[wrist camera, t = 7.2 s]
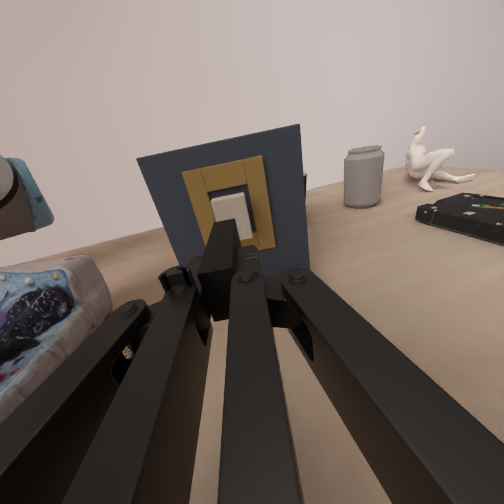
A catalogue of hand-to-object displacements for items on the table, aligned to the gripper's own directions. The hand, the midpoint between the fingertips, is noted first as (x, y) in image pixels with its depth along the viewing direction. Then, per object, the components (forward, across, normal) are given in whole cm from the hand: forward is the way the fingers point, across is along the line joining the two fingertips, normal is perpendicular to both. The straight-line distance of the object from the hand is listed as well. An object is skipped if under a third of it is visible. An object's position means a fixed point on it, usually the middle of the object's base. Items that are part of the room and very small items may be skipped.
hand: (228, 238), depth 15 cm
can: (+34, +27, -12) cm, 45 cm away
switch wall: (+12, 0, -12) cm, 17 cm away
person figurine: (+41, +47, -12) cm, 64 cm away
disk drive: (+14, +36, -12) cm, 40 cm away
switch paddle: (+6, 0, -3) cm, 7 cm away
